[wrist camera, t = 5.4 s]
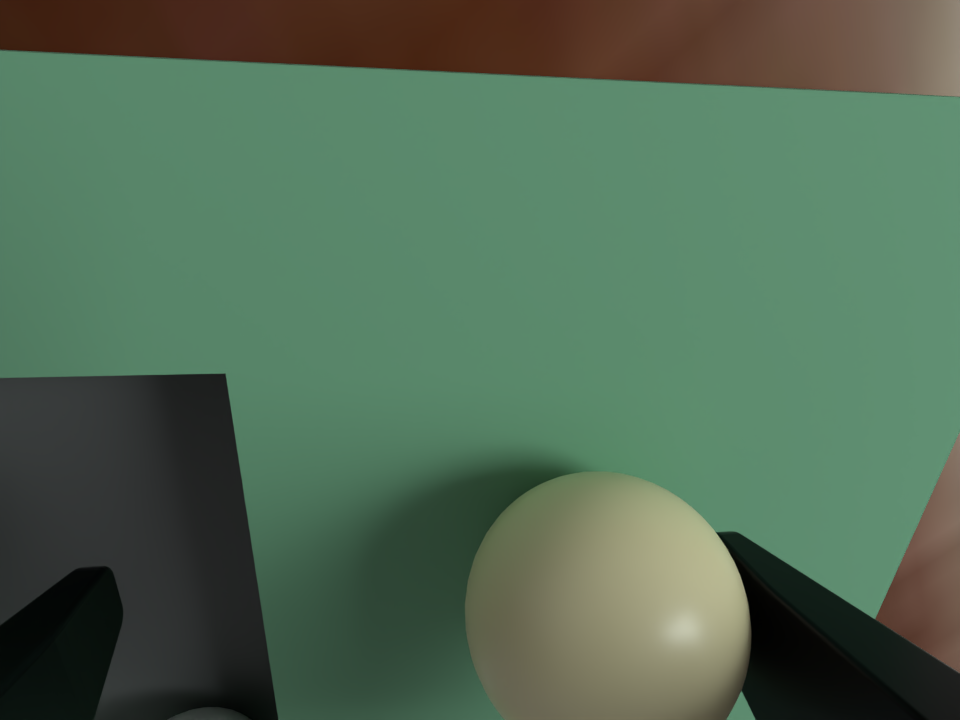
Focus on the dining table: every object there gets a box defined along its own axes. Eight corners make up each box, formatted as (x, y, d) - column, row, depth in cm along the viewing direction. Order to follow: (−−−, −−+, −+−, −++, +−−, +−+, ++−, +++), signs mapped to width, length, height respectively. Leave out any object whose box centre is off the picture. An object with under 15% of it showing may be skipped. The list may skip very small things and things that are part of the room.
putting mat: (897, 93, 12) (1107, 104, 9) (687, 764, 22) (746, 902, 18) (-330, 33, 9) (-780, 12, 6) (47, 840, 19) (-33, 1022, 15)
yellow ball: (818, 491, 8) (724, 699, 5) (750, 686, 10) (650, 923, 7) (567, 396, 11) (405, 508, 8) (546, 570, 12) (408, 715, 9)
